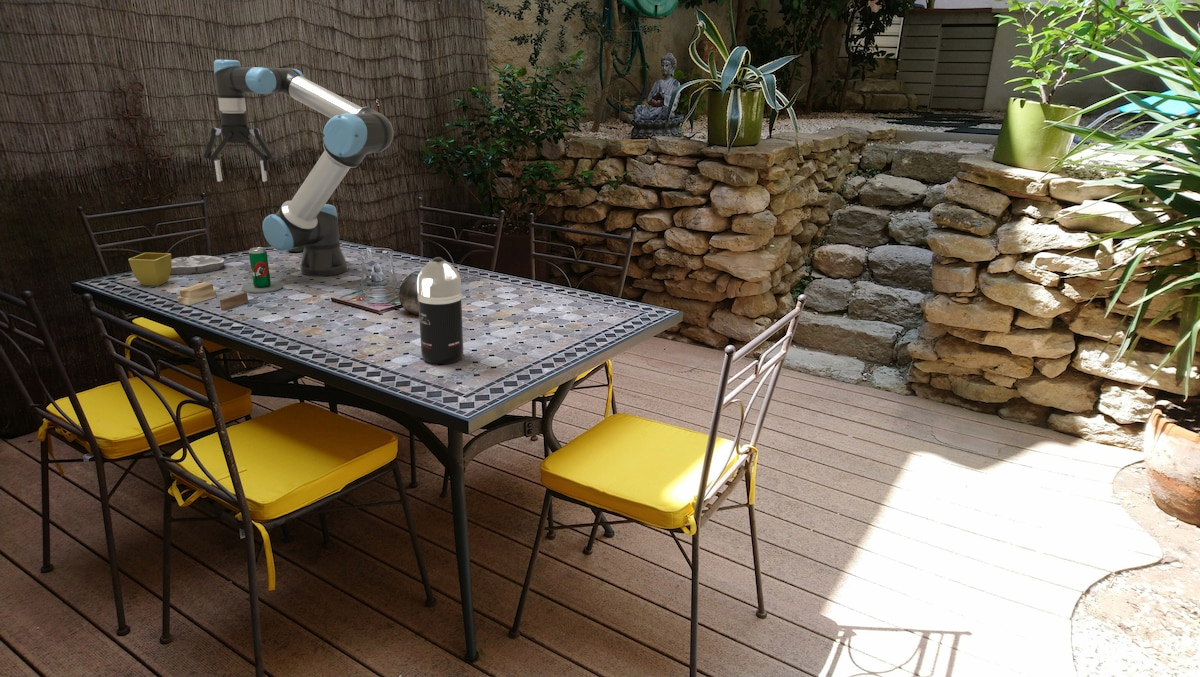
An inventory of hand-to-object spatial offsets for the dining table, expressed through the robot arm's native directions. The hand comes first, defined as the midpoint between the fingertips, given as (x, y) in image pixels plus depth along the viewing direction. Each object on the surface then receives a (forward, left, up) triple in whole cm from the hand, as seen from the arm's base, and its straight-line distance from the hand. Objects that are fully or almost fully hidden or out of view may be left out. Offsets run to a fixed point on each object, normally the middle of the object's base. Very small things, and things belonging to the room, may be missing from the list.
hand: (242, 181), depth 237 cm
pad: (-7, +19, -31) cm, 37 cm away
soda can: (-7, +19, -30) cm, 36 cm away
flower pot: (+27, +11, -31) cm, 43 cm away
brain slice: (+22, -8, -31) cm, 39 cm away
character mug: (-7, -33, -31) cm, 46 cm away
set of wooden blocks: (+3, +34, -31) cm, 46 cm away
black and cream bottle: (-64, +87, -31) cm, 112 cm away
